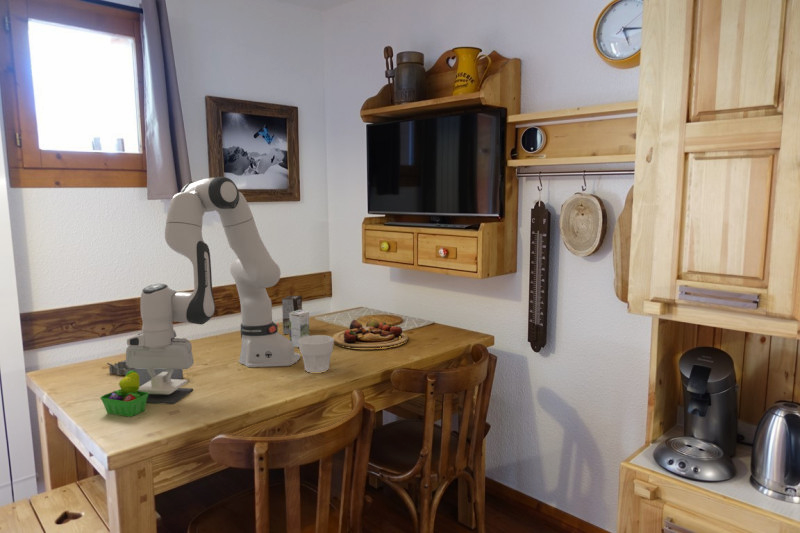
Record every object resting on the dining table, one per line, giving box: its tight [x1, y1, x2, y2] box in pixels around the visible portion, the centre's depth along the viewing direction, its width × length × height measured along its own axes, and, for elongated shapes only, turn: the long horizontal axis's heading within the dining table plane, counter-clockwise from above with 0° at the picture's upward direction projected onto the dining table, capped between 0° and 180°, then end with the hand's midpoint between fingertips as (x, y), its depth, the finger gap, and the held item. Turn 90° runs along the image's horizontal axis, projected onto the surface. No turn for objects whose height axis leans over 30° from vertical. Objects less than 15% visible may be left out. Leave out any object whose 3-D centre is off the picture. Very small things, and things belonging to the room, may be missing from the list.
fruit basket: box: [99, 371, 149, 418], centre depth 164 cm, size 11×9×11 cm
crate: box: [135, 368, 184, 386], centre depth 190 cm, size 11×10×6 cm
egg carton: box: [106, 359, 135, 377], centre depth 201 cm, size 11×8×4 cm
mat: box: [146, 387, 194, 405], centre depth 176 cm, size 14×12×1 cm
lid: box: [138, 372, 188, 395], centre depth 176 cm, size 11×10×5 cm
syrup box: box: [289, 309, 310, 347], centre depth 232 cm, size 6×6×14 cm
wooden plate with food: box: [332, 318, 409, 348], centre depth 240 cm, size 32×32×8 cm
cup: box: [298, 334, 335, 373], centre depth 200 cm, size 12×12×11 cm
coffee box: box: [281, 295, 303, 335], centre depth 255 cm, size 9×6×16 cm
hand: (161, 381), depth 176 cm, fingers closed on lid, 2 cm apart
